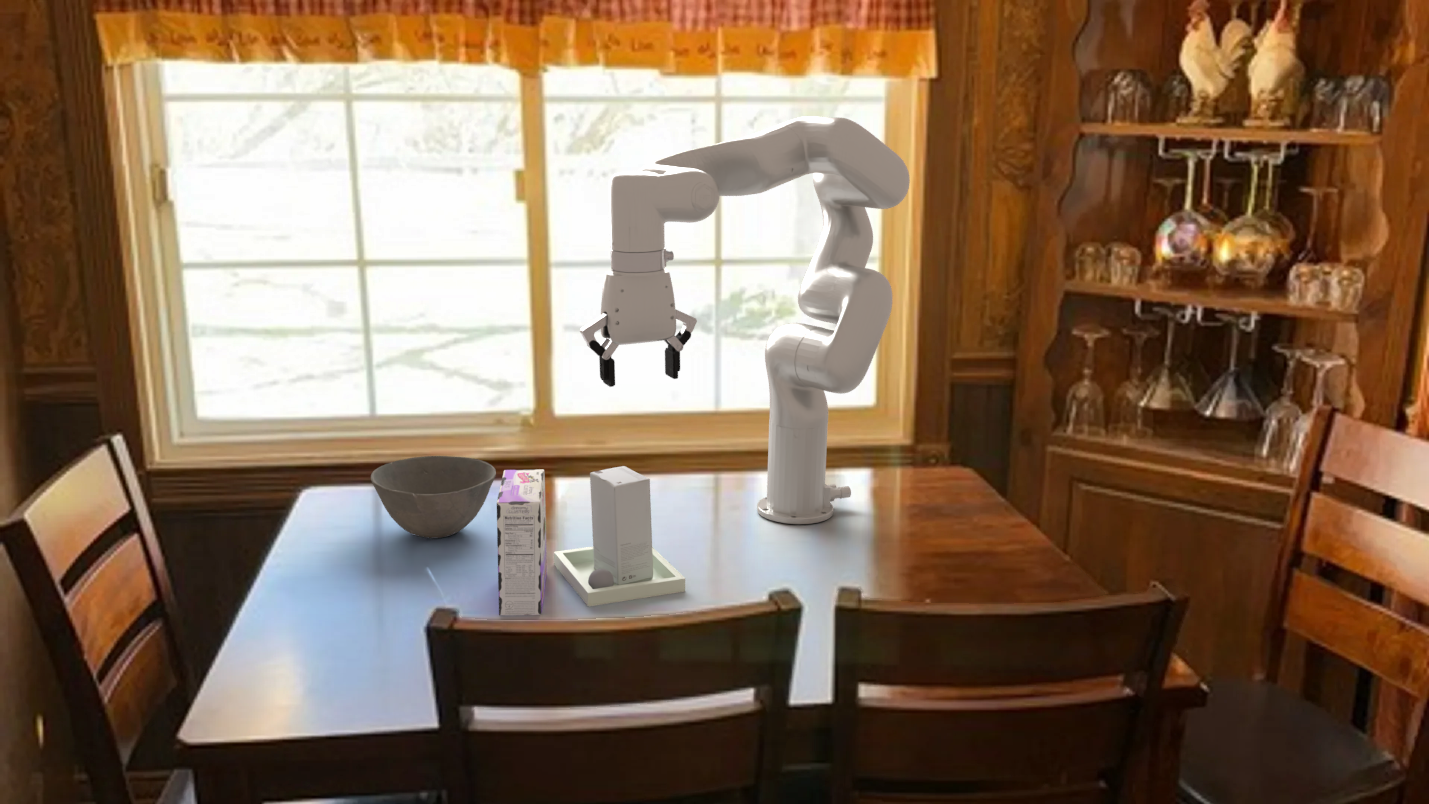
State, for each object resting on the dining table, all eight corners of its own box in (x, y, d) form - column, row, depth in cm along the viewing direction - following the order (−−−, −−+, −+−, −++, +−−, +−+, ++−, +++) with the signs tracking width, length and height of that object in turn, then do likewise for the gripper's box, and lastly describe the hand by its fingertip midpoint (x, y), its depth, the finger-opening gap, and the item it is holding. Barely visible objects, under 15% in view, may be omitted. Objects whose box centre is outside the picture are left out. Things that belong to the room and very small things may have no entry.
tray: (644, 555, 184) (644, 539, 183) (685, 595, 169) (685, 578, 169) (554, 567, 178) (553, 551, 177) (588, 610, 164) (588, 593, 163)
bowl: (370, 559, 180) (366, 495, 177) (377, 516, 198) (374, 457, 195) (499, 552, 184) (498, 489, 181) (495, 510, 201) (493, 452, 199)
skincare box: (654, 579, 173) (654, 479, 169) (615, 587, 170) (615, 485, 166) (626, 560, 180) (626, 463, 176) (589, 567, 177) (588, 469, 173)
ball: (609, 586, 170) (609, 563, 169) (617, 596, 167) (617, 572, 166) (585, 590, 169) (584, 566, 168) (593, 599, 166) (592, 575, 165)
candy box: (506, 579, 174) (503, 468, 170) (547, 578, 174) (546, 467, 170) (497, 620, 161) (494, 500, 156) (542, 619, 161) (540, 500, 157)
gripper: (683, 253, 178) (685, 368, 182) (570, 262, 171) (574, 381, 175) (705, 261, 171) (706, 379, 176) (588, 270, 164) (592, 394, 169)
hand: (640, 380), depth 176 cm, fingers open, 9 cm apart
